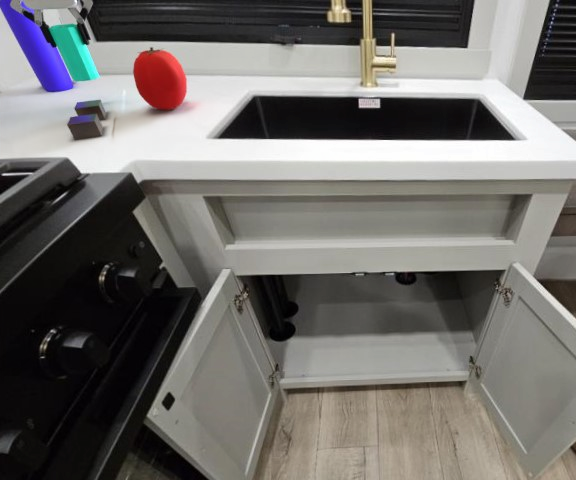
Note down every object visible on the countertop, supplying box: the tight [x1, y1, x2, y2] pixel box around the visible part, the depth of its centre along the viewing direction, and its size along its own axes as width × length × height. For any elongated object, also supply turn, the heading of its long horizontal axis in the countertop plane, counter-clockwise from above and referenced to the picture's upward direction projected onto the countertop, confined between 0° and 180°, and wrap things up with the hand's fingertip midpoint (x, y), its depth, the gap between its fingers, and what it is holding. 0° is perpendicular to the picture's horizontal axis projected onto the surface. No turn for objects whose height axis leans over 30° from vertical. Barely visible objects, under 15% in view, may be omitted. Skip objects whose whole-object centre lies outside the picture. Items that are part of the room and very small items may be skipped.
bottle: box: [0, 0, 74, 93], centre depth 90 cm, size 8×8×30 cm
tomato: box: [132, 46, 188, 111], centre depth 79 cm, size 12×12×13 cm
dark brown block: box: [73, 99, 107, 121], centre depth 76 cm, size 5×5×4 cm
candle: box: [49, 17, 100, 82], centre depth 76 cm, size 6×6×12 cm
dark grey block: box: [66, 114, 104, 141], centre depth 68 cm, size 5×5×4 cm
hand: (71, 44), depth 75 cm, fingers closed on candle, 6 cm apart
